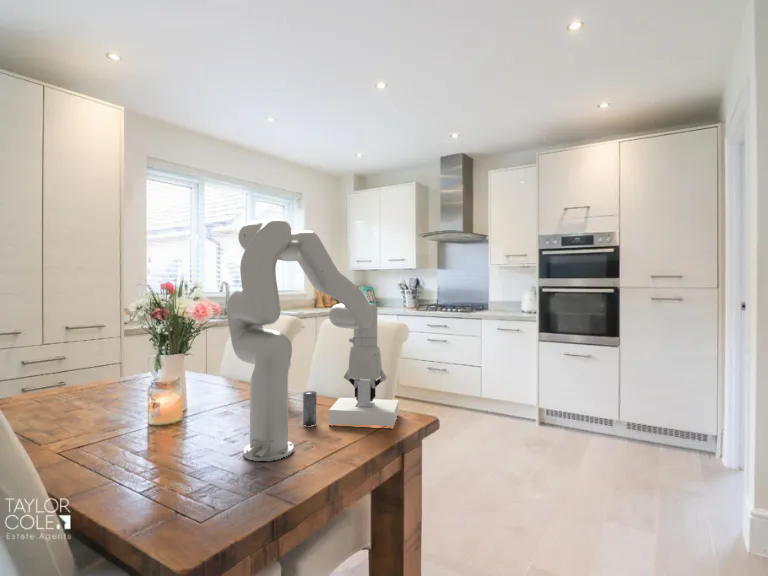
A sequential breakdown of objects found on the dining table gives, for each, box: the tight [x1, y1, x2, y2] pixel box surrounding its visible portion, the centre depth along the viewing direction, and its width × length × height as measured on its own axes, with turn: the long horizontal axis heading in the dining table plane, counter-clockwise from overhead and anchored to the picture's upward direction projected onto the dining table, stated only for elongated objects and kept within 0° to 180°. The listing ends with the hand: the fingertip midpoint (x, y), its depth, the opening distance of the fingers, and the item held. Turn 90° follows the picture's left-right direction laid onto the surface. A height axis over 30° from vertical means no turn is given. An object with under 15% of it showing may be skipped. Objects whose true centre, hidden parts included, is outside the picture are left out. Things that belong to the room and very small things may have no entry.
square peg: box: [357, 379, 372, 408], centre depth 138 cm, size 4×4×10 cm
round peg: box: [302, 390, 317, 426], centre depth 133 cm, size 4×4×10 cm
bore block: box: [328, 397, 399, 426], centre depth 138 cm, size 14×20×5 cm
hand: (365, 399), depth 138 cm, fingers closed on square peg, 3 cm apart
